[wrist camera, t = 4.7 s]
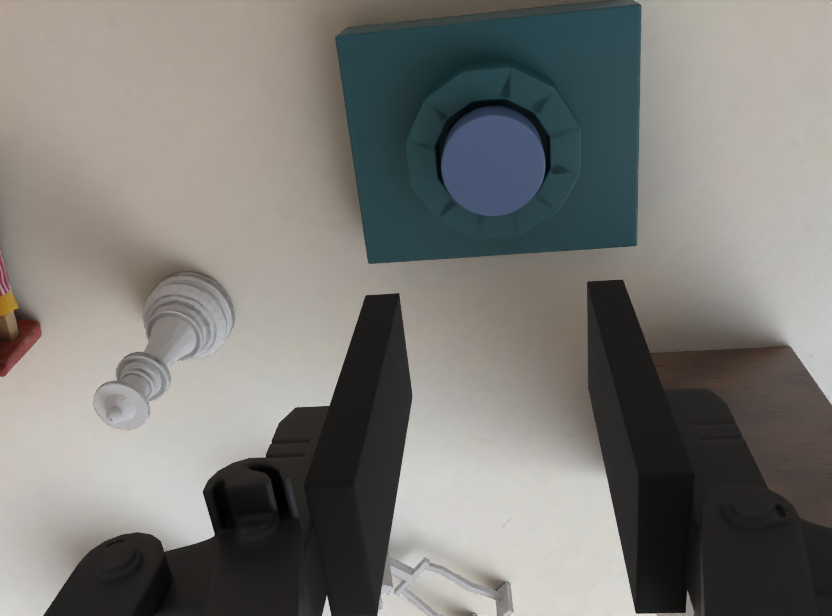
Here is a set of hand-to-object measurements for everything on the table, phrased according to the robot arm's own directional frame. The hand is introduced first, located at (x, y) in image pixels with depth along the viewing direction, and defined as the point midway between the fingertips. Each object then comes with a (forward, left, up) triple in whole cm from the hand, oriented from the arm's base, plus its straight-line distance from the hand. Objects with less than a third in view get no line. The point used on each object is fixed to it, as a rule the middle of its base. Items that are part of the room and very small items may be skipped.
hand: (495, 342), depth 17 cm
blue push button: (0, 0, -16) cm, 16 cm away
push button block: (0, 0, -20) cm, 20 cm away
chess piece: (+16, +8, -20) cm, 27 cm away
